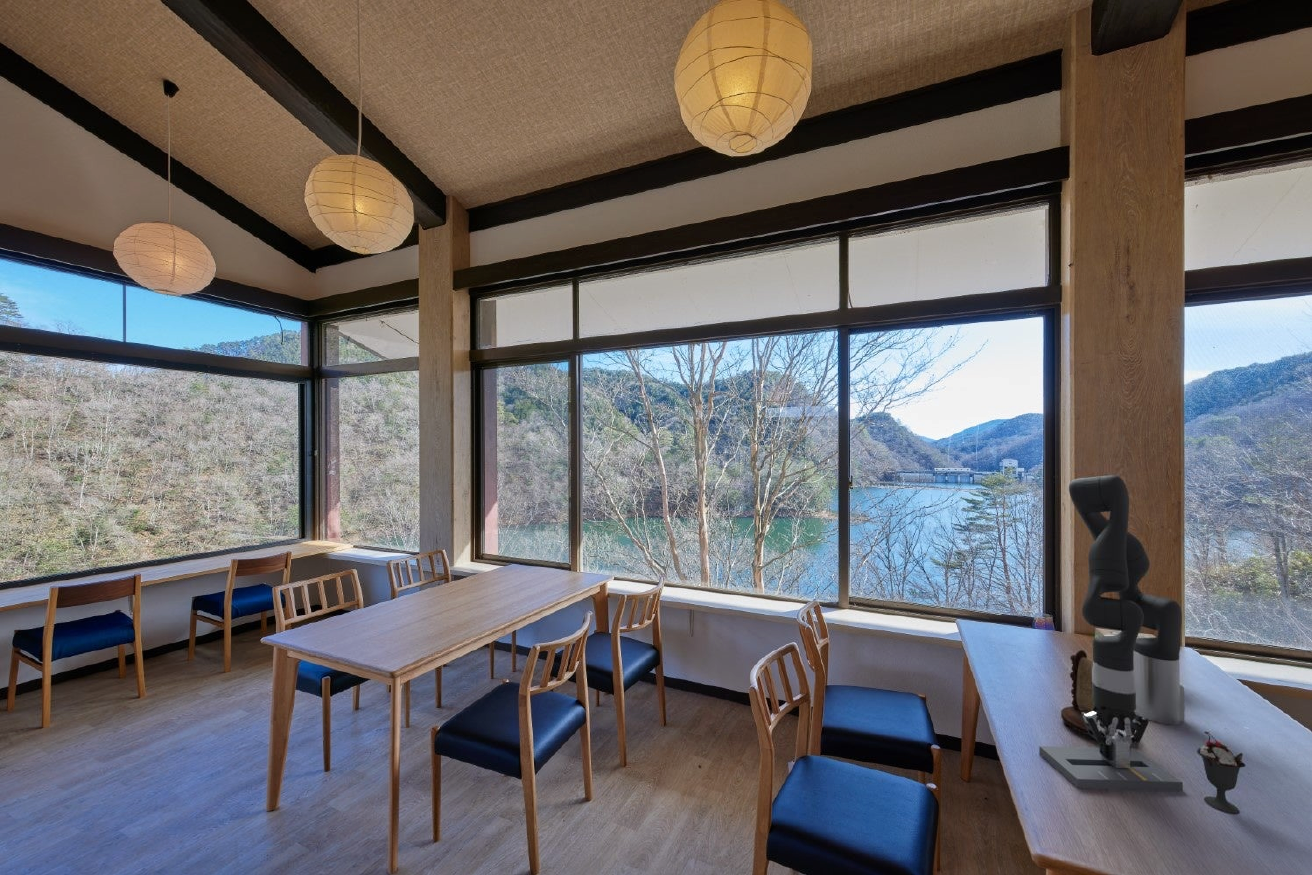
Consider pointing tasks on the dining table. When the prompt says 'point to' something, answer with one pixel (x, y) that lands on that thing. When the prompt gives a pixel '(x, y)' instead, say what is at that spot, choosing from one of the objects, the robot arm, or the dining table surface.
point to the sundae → (1221, 773)
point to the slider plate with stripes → (1108, 770)
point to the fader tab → (1120, 752)
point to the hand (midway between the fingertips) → (1114, 758)
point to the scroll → (1080, 692)
